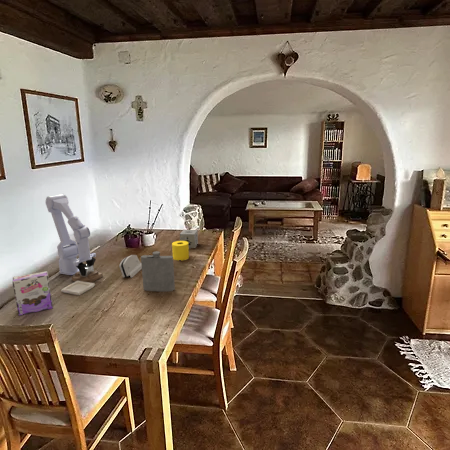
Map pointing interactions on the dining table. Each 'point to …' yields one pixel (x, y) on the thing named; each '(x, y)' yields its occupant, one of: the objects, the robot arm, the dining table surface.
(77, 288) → the dish
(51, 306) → the candy box
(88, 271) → the sleeve
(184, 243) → the yellow hollow cylinder
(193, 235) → the icon cube
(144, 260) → the hip flask
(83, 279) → the vise block
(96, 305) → the dining table surface
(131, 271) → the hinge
